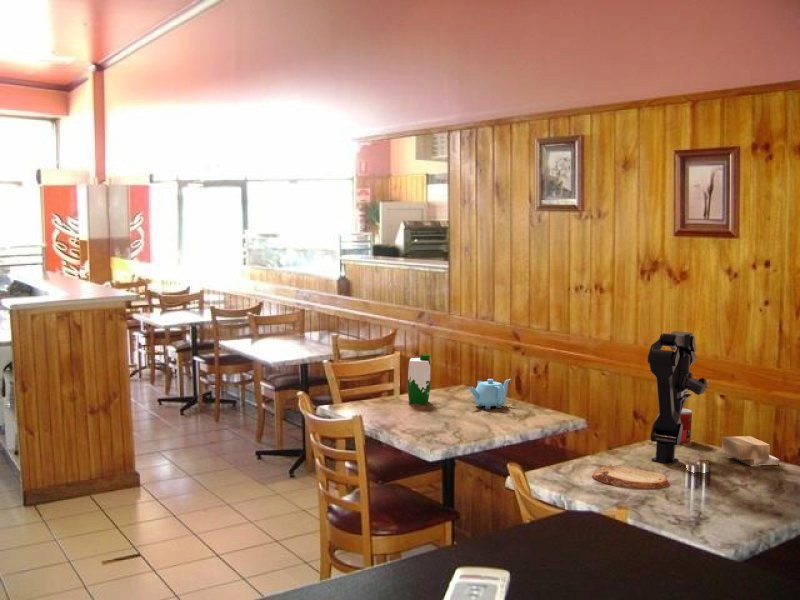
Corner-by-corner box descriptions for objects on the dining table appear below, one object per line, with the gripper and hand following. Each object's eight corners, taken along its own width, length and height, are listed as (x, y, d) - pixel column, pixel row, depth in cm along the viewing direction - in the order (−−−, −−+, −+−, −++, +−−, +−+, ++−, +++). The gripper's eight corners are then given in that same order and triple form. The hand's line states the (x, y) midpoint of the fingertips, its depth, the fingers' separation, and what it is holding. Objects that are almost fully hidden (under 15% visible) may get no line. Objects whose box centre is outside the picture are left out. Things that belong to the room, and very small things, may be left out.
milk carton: (428, 405, 351) (429, 356, 349) (406, 404, 352) (407, 355, 350) (430, 400, 359) (431, 353, 357) (409, 399, 361) (410, 352, 359)
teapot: (477, 401, 361) (478, 374, 360) (510, 404, 356) (510, 377, 355) (467, 408, 347) (468, 380, 345) (500, 412, 342) (501, 383, 341)
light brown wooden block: (741, 445, 272) (770, 444, 273) (722, 436, 282) (750, 436, 284) (740, 459, 272) (769, 458, 274) (721, 450, 283) (749, 449, 285)
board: (750, 466, 272) (750, 460, 272) (727, 455, 285) (728, 449, 284) (779, 465, 274) (779, 459, 273) (755, 454, 286) (755, 448, 286)
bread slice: (674, 486, 251) (675, 473, 250) (629, 495, 242) (630, 482, 241) (629, 470, 266) (630, 458, 266) (585, 477, 257) (586, 465, 257)
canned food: (691, 444, 298) (693, 413, 297) (667, 442, 299) (669, 411, 298) (688, 438, 305) (690, 408, 304) (665, 437, 307) (667, 407, 306)
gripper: (692, 375, 274) (689, 424, 276) (715, 369, 288) (712, 415, 290) (659, 371, 282) (656, 418, 283) (683, 364, 295) (681, 409, 297)
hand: (678, 415), depth 288 cm, fingers closed
